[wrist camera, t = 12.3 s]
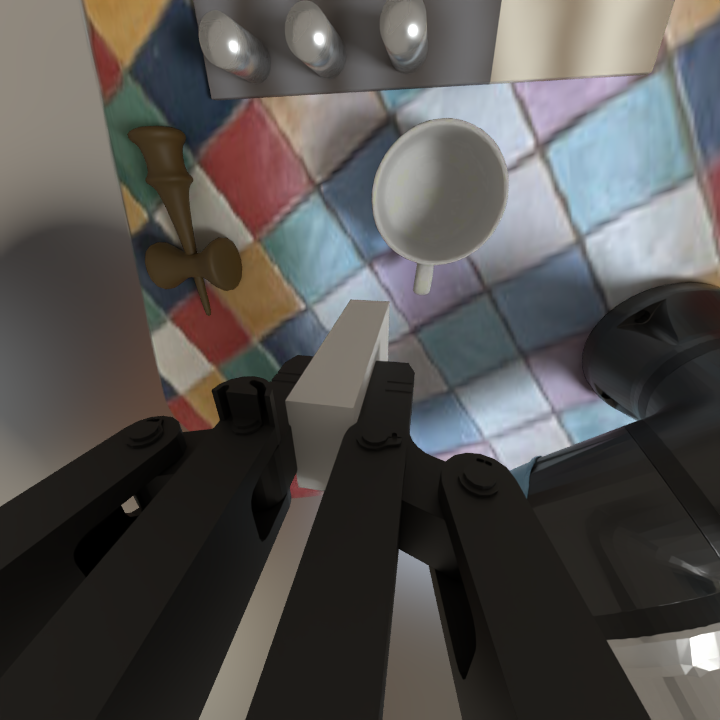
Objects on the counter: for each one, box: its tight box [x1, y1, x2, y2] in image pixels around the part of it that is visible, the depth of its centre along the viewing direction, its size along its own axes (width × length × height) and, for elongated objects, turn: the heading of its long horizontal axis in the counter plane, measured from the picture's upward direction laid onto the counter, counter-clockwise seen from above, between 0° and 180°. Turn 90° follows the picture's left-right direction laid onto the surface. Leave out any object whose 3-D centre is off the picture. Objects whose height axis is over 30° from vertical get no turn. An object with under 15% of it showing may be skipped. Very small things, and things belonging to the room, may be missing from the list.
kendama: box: [127, 126, 242, 316], centre depth 38 cm, size 6×10×20 cm
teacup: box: [372, 118, 509, 295], centre depth 31 cm, size 14×11×8 cm
